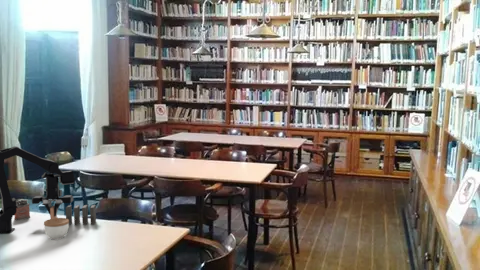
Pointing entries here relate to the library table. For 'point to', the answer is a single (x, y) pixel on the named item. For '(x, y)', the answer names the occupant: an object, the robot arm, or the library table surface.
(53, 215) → the domino
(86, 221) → the domino
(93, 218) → the domino
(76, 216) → the domino
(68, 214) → the domino
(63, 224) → the lidded jar
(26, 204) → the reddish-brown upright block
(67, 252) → the library table surface
